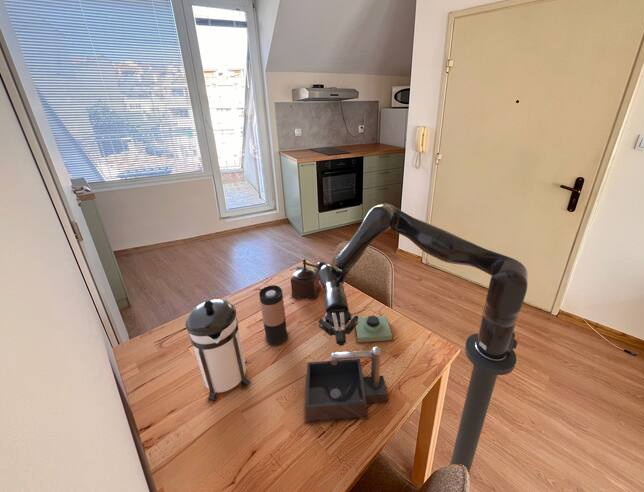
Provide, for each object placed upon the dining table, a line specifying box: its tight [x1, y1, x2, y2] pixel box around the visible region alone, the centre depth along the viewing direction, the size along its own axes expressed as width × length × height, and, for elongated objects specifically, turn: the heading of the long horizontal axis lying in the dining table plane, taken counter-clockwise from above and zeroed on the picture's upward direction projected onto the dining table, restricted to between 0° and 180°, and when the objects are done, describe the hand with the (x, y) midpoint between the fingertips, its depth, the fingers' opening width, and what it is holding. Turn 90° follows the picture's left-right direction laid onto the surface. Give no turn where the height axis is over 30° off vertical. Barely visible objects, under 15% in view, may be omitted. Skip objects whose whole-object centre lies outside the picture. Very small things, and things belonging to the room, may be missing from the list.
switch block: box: [355, 315, 393, 343], centre depth 107 cm, size 12×10×4 cm
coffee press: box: [185, 298, 250, 402], centre depth 85 cm, size 17×16×30 cm
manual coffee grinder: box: [290, 258, 327, 300], centre depth 126 cm, size 16×11×18 cm
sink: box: [305, 358, 388, 423], centre depth 84 cm, size 22×14×6 cm, turn 94°
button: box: [367, 315, 379, 327], centre depth 106 cm, size 4×4×2 cm
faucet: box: [330, 346, 382, 388], centre depth 81 cm, size 14×3×14 cm, turn 94°
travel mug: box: [258, 285, 288, 346], centre depth 102 cm, size 8×8×20 cm
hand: (341, 343), depth 83 cm, fingers closed
